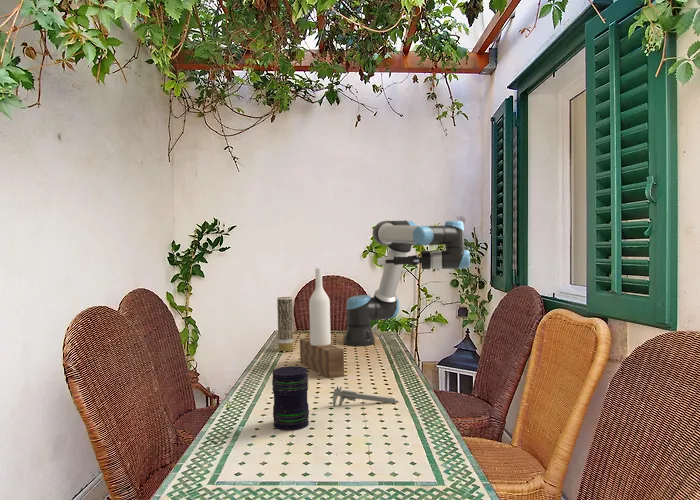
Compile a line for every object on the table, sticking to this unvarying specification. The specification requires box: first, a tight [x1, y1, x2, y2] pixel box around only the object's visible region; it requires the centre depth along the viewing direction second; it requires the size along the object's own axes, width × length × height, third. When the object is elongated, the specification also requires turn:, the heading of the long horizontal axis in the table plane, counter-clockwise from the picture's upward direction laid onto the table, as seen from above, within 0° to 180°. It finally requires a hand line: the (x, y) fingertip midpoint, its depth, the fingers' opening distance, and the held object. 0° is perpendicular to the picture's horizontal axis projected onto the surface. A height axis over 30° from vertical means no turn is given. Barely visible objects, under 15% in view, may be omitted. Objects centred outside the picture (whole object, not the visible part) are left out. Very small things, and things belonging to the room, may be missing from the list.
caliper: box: [332, 385, 400, 407], centre depth 161 cm, size 20×1×6 cm, turn 97°
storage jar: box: [271, 365, 310, 432], centre depth 144 cm, size 10×10×15 cm
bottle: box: [308, 267, 332, 346], centre depth 207 cm, size 8×8×30 cm
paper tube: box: [276, 296, 294, 352], centre depth 244 cm, size 7×7×25 cm
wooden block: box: [299, 337, 345, 380], centre depth 207 cm, size 30×6×10 cm, turn 26°
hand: (379, 260), depth 217 cm, fingers open, 13 cm apart
